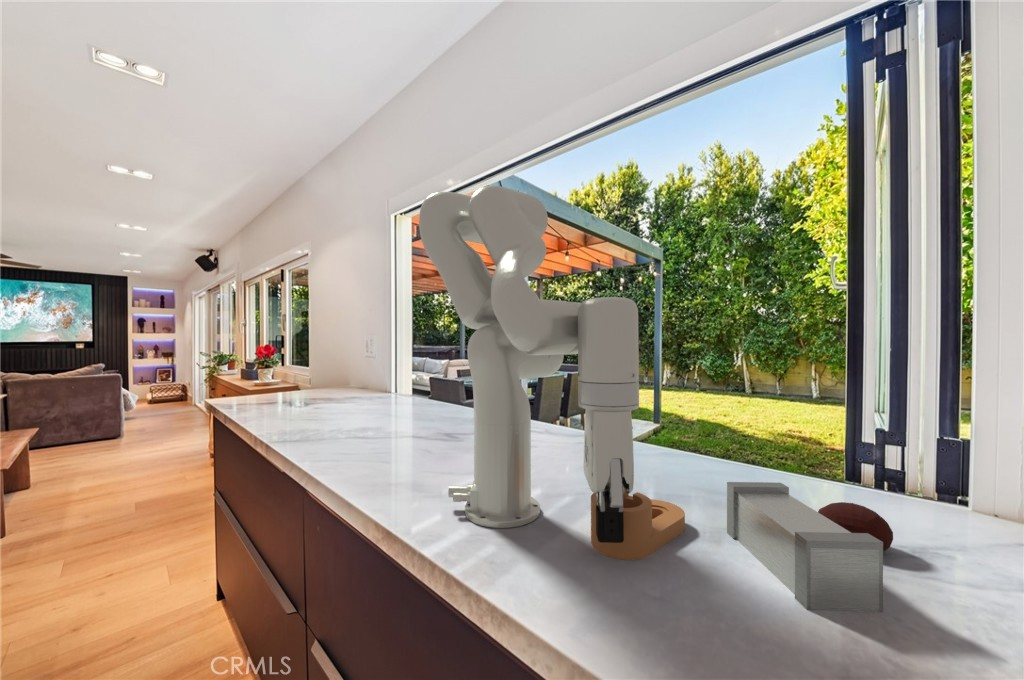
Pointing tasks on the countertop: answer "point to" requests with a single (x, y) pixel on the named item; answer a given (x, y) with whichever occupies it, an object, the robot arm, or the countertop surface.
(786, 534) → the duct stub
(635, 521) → the bracket
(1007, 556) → the countertop surface
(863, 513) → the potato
